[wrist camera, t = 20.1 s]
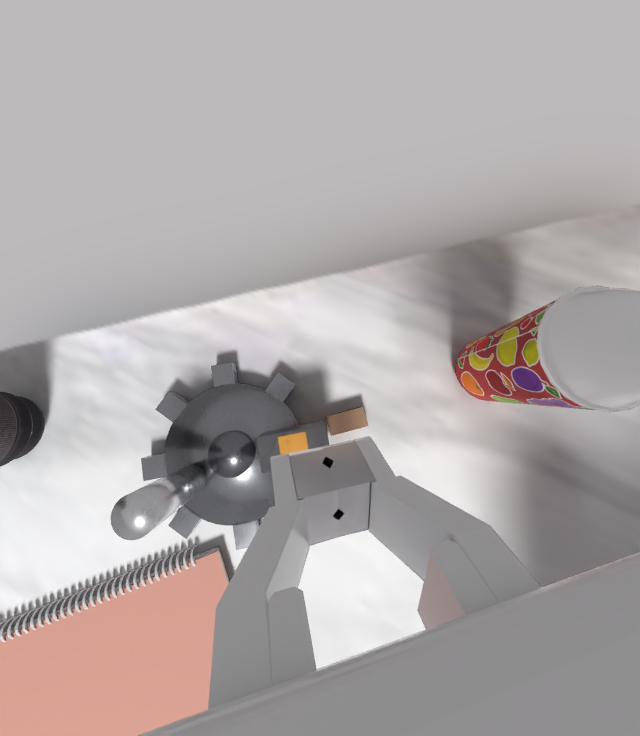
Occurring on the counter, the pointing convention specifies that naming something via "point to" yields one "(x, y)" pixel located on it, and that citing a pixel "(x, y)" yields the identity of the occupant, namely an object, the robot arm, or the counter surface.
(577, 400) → the smoothie
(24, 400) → the camera lens
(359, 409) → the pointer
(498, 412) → the counter surface
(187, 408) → the sprocket
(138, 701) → the notebook
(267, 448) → the grey and orange block
